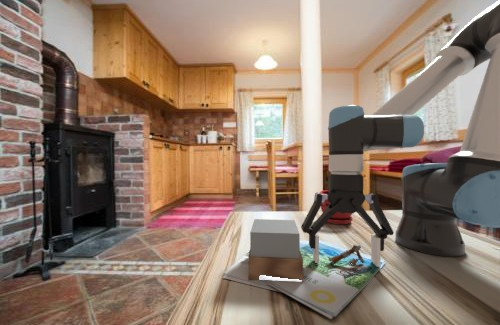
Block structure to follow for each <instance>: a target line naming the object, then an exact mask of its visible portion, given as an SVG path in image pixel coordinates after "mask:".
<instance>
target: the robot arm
mask: <svg viewBox="0 0 500 325" xmlns="http://www.w3.org/2000/svg"><path fill="white" fill-rule="evenodd" d="M488 60H489V61H488ZM486 61H488V65H487V68H486V70H485V74H484V76H483V80H482V83H481V85H480V89H479V92H478V94H477V98H476V101H475V104H474V107H473V110H472V113H471V116H470V119H469V122H468V125H467V129H466V131H465V133H464V134H465V135H464V137H463V140H462V143H461V147H460V150H458V152H456V153H454V154H452V155H449V156H448V158H447V162H435V163H419V164H412V165H407V166H405V167H403V169H402V174H401V182H402V183H401V190H402V191H401V194H402V195H401V197H402V198H401V203H402V205H401V206H402V209H401V210H402V216H401V218H400V221H399V223H398V226H397V229H396V230H395V241H396V243H398V244H399V245H400V246H403V247H405V248H406V249H407V248H408V249H409V250H413V251H417V252H420V253H425V254H428V255H433V256H438V257H439V256H440V257H462V256H464V255H465V254H466V244H465V241H464V239H463V236H462V234H461V232H460V230H459V227H458V224H457V221H456V220H461V221H463V222H466V223H469V224H471V225H476V226H477V225H478V226H482V227H487V228H496V229H497V228H499V229H500V0H498V1H496V2H495V3H493V4H492V5H490V6H489V7H487V8H486V9H484V10H483V11H482V12H479V14H478V15H477V16H475V17H474V18H472V20H471V21H470V22H468V23H467V24H466V25H465V26H464V27H463V28H462V29H461V30H459V32H458V33H456V35H455V36H454V37H453V38H452V39H451V40H449V42H447V43H446V45H444V46H443V47H442V48H441V49H440V50H439V51H438V52H437V53H436V54H435V58H434V60H433V61H432V62H431V63H430V64H428V66H426V67H425V68H423V70H421V72H419V73H418V74H417V75H416V76H415V77H414V78H412V80H409V82H408V83H407V84H406V85H405V86H403V87H402V88H401V89H400V90H399V91H398V92H396V94H394V95H393V96H392V97H391V98H390V99H389V100H387V101H386V102H385V103H384V104H383V105H381V106H380V107H379V108H378V109H377V110H376V111H375V112H374V113H373V114H372V115H368V114H367V115H366V114H365V110H364V108H363V107H362V106H361V105H355V104H351V105H348V104H347V105H341V106H337V107H334V108H333V109H331V110H330V112H329V114H328V115H329V116H328V127H327V130H328V171H329V172H330V173H329V175H328V190H329V191H328V194H327V195H326V194H320V192H315V193H314V199H313V203H312V205H311V207H310V209H309V210H308V212H307V214H306V215H305V218H304V220H303V222H302V224H301V227H300V228H301V230H302V233H304V234H305V233H306V234H308V245H309V247H310V249H313V251H312V252H313V254H312V259H314V260H313V262H314V261H315V262H314V264H315V263H319V264H320V242H319V241H320V236H319V234H318V232H319V231H320V230H321V229H322V228H323V227H324V225H325V224H327V223H328V222H327V221H328V220H329V219H330V218H331V217H332V216H333V215H334V214H335V213H336V212H339V213H352V215H353V214H355V213H357V214H358V215H359V217H360V218H361V219H362V220H363V221H364V222H365V224H366V225H367V226H369V228H370V229H371V230H372V232H373V234H372V233H371V234H370V243H371V244H370V246H371V247H370V261H372V262H373V263H372V262H371V263H372V264H374V266H376V267H377V268H381V252H384V250H385V240H386V239H387V238H388V236H393V234H394V230H393V228H392V227H391V224H390V223H389V222H390V221H389V220H388V218H387V217H386V215H385V212H384V211H383V209H382V207H381V205H380V201H379V200H380V199H379V196H378V194H376V193H372V192H370V193H368V194H364V175H363V174H362V173H363V172H364V152H367V151H368V152H369V151H373V150H374V151H375V150H382V149H383V150H384V149H397V148H398V149H403V148H413V147H416V146H418V145H419V144H420V143H421V142H422V140H423V138H424V135H425V124H424V122H423V120H422V118H421V117H420V116H418V115H416V113H417V112H419V111H420V110H421V109H423V107H424V106H426V105H427V104H428V103H429V102H430V101H431V100H432V99H435V97H436V96H438V94H440V93H441V92H442V91H443V90H445V88H447V87H448V86H449V85H450V84H451V83H453V82H454V81H455V80H456V79H458V77H462V76H464V75H468V73H470V72H471V71H472V70H474V69H475V68H477V67H478V66H479V65H481V64H483V63H485V62H486ZM326 199H327V200H328V201H329V203H330V204H329V203H328V204H329V205H328V207H327V208H326V210H325V211H324V212H322V213H321V215H320V216H319V217H318V218H317V219H316V220H315V218H316V216H317V214H318V213H319V211H320V209H321V204H322V203H324V201H325V200H326ZM364 202H366V203H368V204H369V206H370V208H371V211H372V212H373V215H374V216H375V219H376V221H377V222H378V224H379V225H378V224H377V223H376V221H374V219H373V218H372V217H371V216H370V215H369V214H368V212H367V211H366V210H365V209H364V207H363V204H364ZM314 220H315V221H314ZM379 226H380V227H379Z"/></svg>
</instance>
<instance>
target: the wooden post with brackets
mask: <svg viewBox="0 0 500 325" xmlns="http://www.w3.org/2000/svg"><path fill="white" fill-rule="evenodd" d="M361 248H362V246H361V244H359V245H358V244H353V245H352V247H351V248H350V249H347V250H345V251H343V252H341V253H340V254H338V255H336V256H332V257H331V256H327V259H328V260H329V262H330V261H332V263H331V264H332V266H333V265H334V264H335V265H336V264H337V263H338V262H340V261H341V260H343V259H346V258H348V257H350V256H351V255H354V256H357V257H358V258H352V259H350V260H349V262H348V264H349V263H350V264H351V263H352V264H354V263H357V264H358V262H359V261H360V263H361V262H362V264H363V263H365V260H364V258H363V257H362V255H361V253H360V251H361ZM352 264H351V265H352ZM354 265H355V264H354Z"/></svg>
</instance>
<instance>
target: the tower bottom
mask: <svg viewBox="0 0 500 325" xmlns="http://www.w3.org/2000/svg"><path fill="white" fill-rule="evenodd" d="M302 255H303V254H302V253H301V251H300V258H278V257H254V256H250V251H249V252H248V258H247V259H248V260H247V262H248V267H247V268H248V270H247V271H248V272H247V273H248V276H247V277H248V280H247V281H253V280H259V276H260V275H266V276H272V277H280V278H288V279H299V280H303V281H304V259H303V256H302Z"/></svg>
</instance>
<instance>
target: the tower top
mask: <svg viewBox="0 0 500 325" xmlns="http://www.w3.org/2000/svg"><path fill="white" fill-rule="evenodd" d="M249 235H250V237H249V238H250V239H249V240H250V242H249V243H250V246H249V248H250V249H249V252H250V256H254V257H278V258H300V252H301V250H300V246H301V245H300V244H301V243H300V239H301V238H300V237H301V236H300V230H299V228H298V226H297V224H296V221H295V220H294V219H263V218H261V219H260V218H259V219H257V218H254V220H253V222H252V226H251V228H250V234H249Z"/></svg>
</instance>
